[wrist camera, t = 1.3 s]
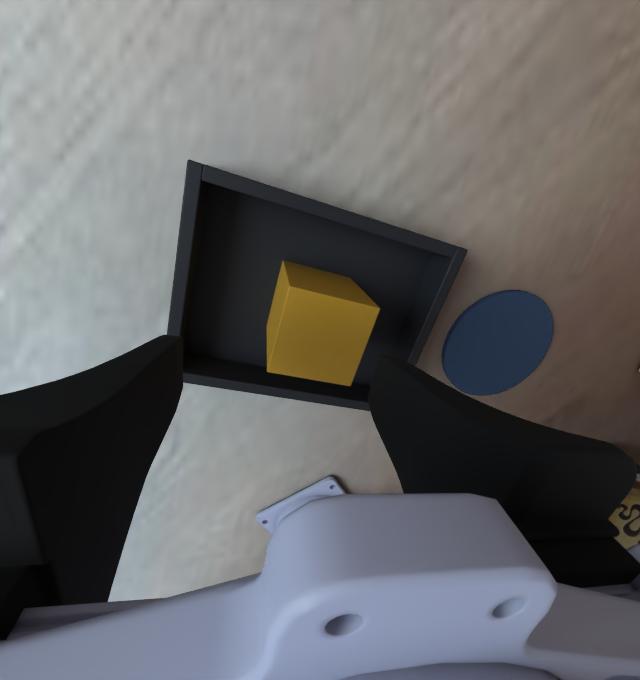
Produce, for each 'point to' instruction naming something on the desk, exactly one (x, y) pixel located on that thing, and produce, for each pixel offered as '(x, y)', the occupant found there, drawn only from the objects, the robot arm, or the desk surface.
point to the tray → (262, 275)
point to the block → (318, 325)
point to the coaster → (497, 342)
